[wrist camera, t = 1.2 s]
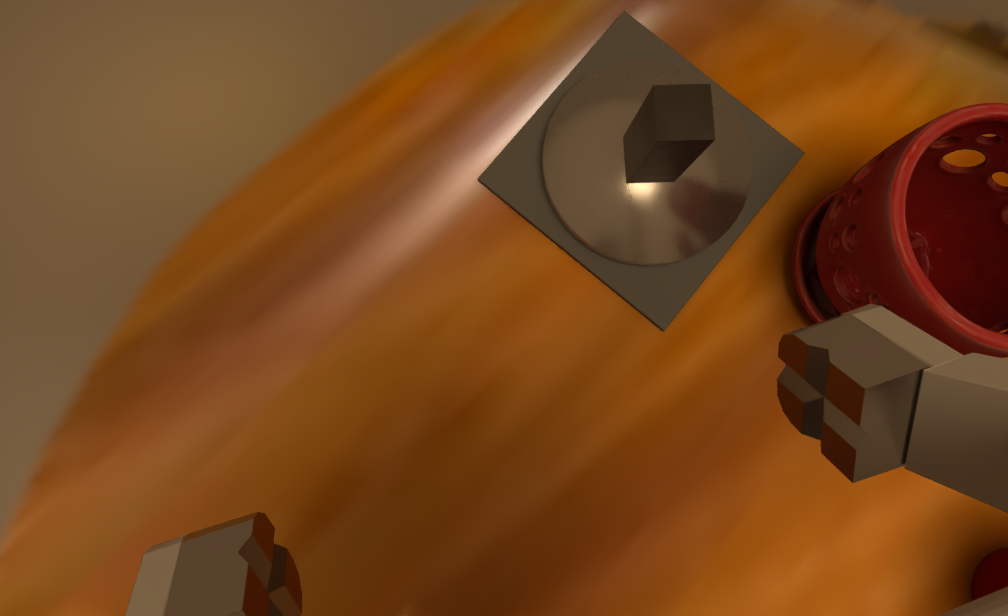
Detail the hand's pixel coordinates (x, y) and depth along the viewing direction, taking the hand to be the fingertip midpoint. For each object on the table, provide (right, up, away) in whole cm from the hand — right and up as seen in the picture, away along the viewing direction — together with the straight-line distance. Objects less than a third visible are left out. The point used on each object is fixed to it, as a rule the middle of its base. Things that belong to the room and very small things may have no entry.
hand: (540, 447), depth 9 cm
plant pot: (+24, +5, +33) cm, 41 cm away
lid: (+9, +12, +33) cm, 36 cm away
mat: (+9, +12, +33) cm, 36 cm away
